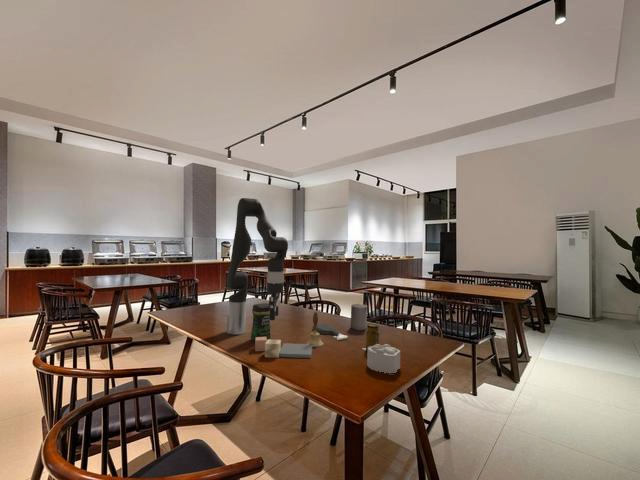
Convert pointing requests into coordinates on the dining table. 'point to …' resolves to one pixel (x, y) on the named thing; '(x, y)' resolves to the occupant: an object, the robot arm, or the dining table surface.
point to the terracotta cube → (260, 343)
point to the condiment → (371, 336)
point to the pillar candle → (358, 316)
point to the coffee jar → (261, 321)
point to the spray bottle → (330, 331)
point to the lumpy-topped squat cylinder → (383, 358)
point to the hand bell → (315, 333)
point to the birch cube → (272, 348)
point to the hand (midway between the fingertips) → (274, 317)
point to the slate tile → (296, 350)
